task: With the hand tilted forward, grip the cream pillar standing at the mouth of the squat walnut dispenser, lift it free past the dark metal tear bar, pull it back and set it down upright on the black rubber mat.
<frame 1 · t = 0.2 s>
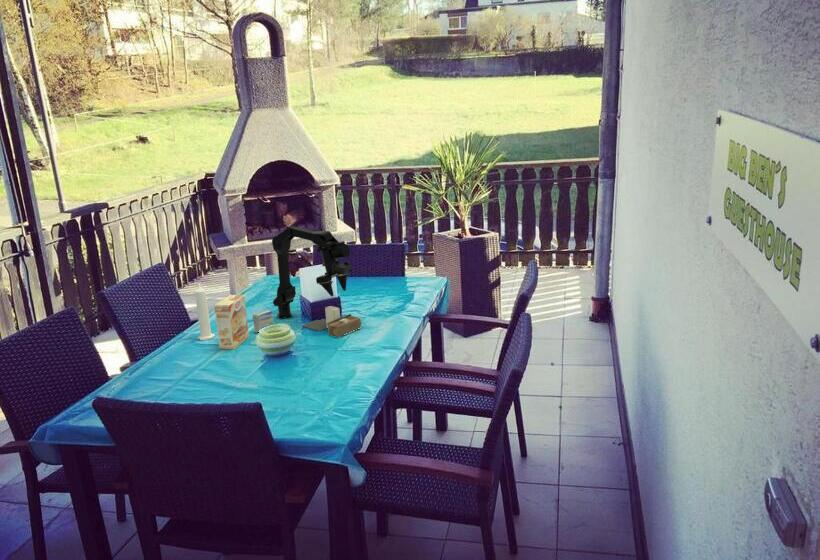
hand: (338, 293, 299), 15 cm above the table, tool pointing down, fingers open, 9 cm apart
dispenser: (345, 332, 294), on the table
coffeecake box: (234, 343, 288), on the table
medicine box: (264, 331, 301), on the table
cream pillar: (334, 329, 299), on the table
mat: (320, 325, 304), on the table
candle: (206, 337, 296), on the table
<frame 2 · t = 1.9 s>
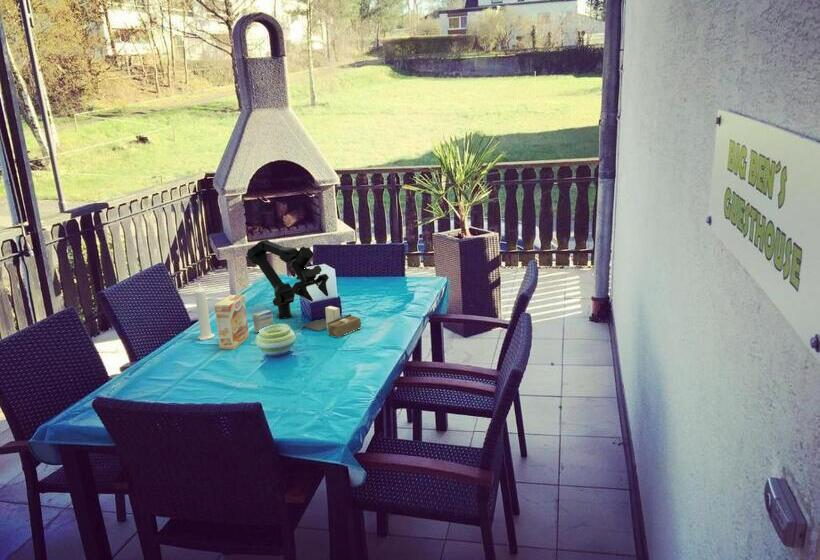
hand: (320, 298, 300), 13 cm above the table, tool tilted 45°, fingers open, 9 cm apart
nothing on the table moved.
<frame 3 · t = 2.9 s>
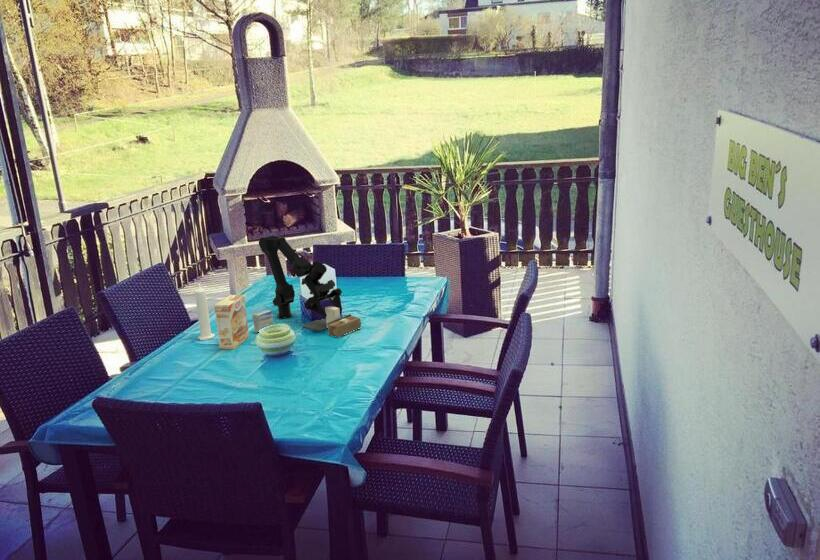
hand: (333, 313, 296), 7 cm above the table, tool tilted 45°, fingers open, 9 cm apart
nothing on the table moved.
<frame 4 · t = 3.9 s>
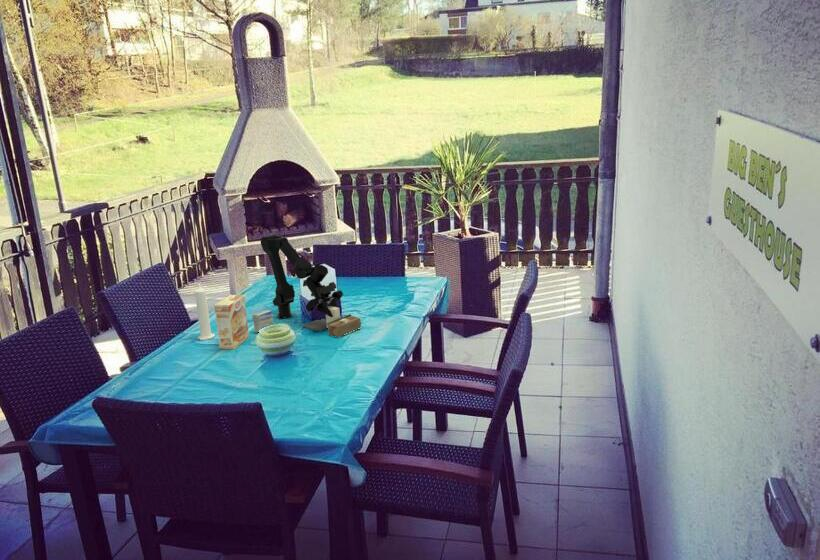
hand: (335, 315, 296), 7 cm above the table, tool tilted 45°, fingers closed on cream pillar, 3 cm apart
cream pillar: (334, 329, 299), on the table, touching gripper
everything else where it was.
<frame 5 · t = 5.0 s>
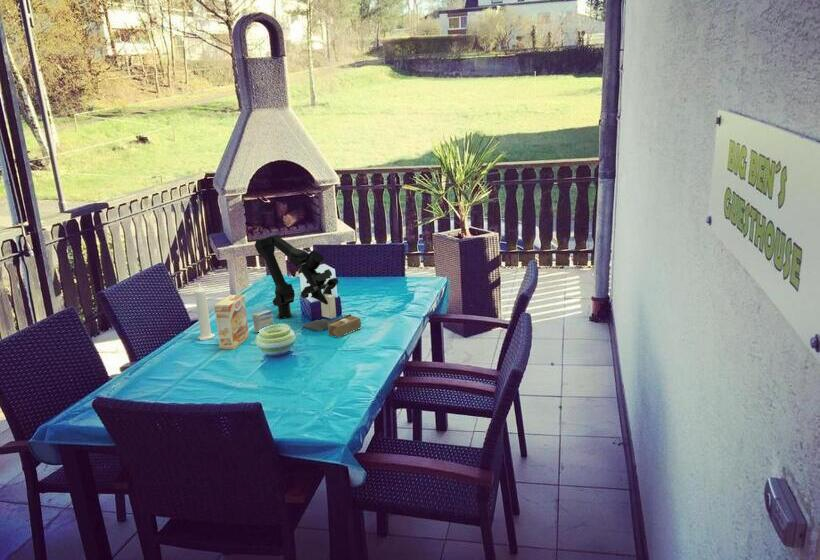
hand: (330, 303, 296), 12 cm above the table, tool tilted 45°, fingers closed on cream pillar, 3 cm apart
cream pillar: (329, 316, 299), point 5 cm above the table, touching gripper
everything else where it was.
when the fingers open (9 cm above the table, at t = 6.4 s): cream pillar drops 1 cm, resting on mat.
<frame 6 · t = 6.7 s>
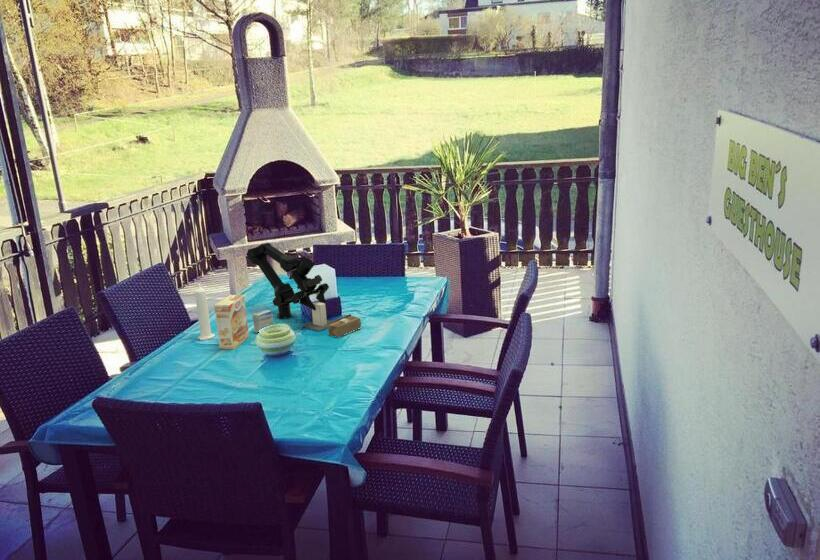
hand: (320, 308, 301), 9 cm above the table, tool tilted 45°, fingers open, 6 cm apart
cream pillar: (320, 324, 304), point 1 cm above the table, touching mat
everything else where it was.
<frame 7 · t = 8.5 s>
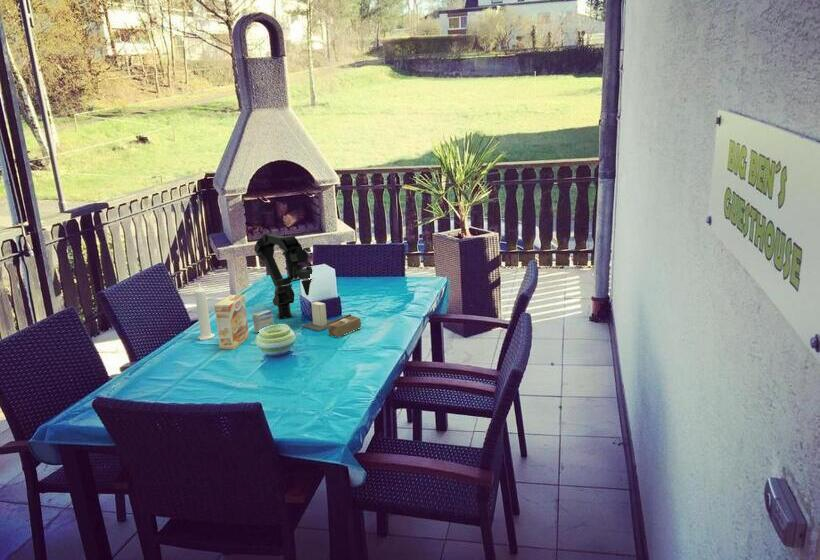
hand: (299, 297, 304), 13 cm above the table, tool pointing down, fingers open, 9 cm apart
nothing on the table moved.
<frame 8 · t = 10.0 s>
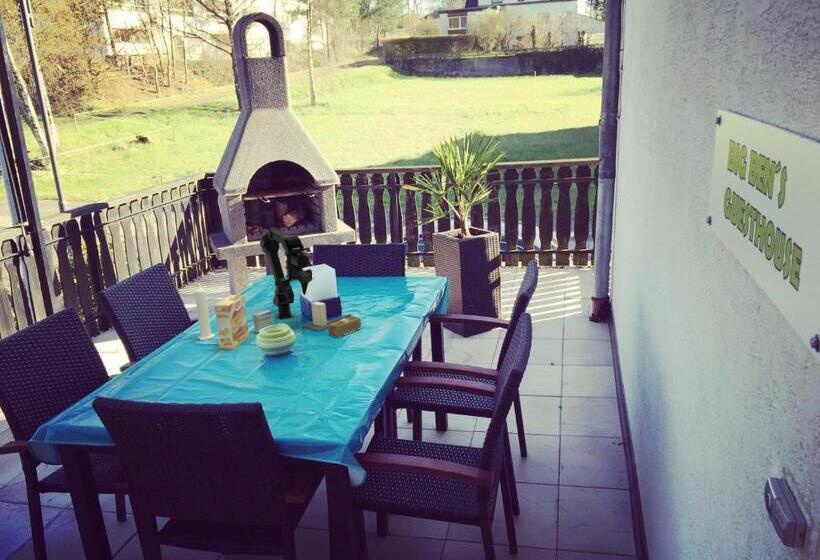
hand: (296, 297, 304), 13 cm above the table, tool pointing down, fingers open, 9 cm apart
nothing on the table moved.
at the end: cream pillar inside the target area on the mat (0.0 cm from its centre), point 0.6 cm above the mat's base; cream pillar tilted 0°; the gripper is holding nothing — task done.
